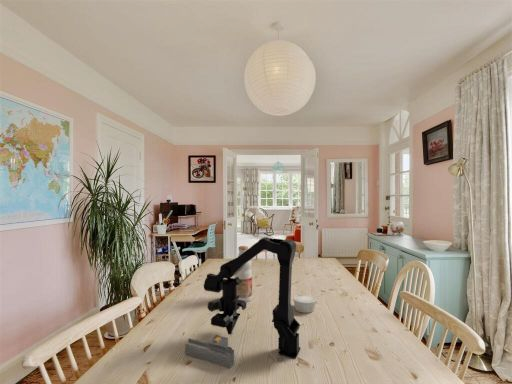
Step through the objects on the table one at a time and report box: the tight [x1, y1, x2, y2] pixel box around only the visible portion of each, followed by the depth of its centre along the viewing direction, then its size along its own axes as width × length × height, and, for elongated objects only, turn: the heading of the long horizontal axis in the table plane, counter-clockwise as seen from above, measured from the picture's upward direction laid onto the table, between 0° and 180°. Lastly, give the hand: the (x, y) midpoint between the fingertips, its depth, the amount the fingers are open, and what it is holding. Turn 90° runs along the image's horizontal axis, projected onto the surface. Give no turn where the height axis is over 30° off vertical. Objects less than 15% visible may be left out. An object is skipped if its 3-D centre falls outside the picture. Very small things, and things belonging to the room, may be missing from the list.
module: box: [207, 334, 229, 348], centre depth 94 cm, size 5×7×5 cm
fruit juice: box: [233, 245, 253, 303], centre depth 142 cm, size 9×9×28 cm
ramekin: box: [292, 293, 317, 314], centre depth 129 cm, size 11×11×5 cm
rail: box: [184, 337, 235, 369], centre depth 92 cm, size 18×6×5 cm, turn 67°
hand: (229, 334), depth 103 cm, fingers closed
